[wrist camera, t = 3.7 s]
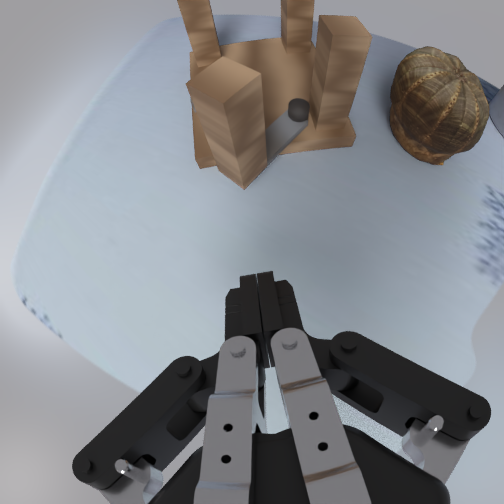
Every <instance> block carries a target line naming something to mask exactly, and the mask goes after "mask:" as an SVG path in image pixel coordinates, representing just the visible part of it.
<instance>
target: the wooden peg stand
mask: <svg viewBox="0 0 504 504" xmlns="http://www.w3.org/2000/svg"><path fill="white" fill-rule="evenodd" d="M177 1H178V5H179V8H180V11H181V14H182V17H183V21H184V24H185V27H186V30H187V33H188V37H189V40H190V43H191V46H192V49H193V52H190V77H191V79H192V78H194V77H195V76H196V75H197V74H199V73H200V72H201V71H203V70H204V69H206V68H207V67H208V66H210V65H211V64H212V63H214V62H215V61H217V60H218V59H219V58H221V57H222V56H223V57H226V58H228V59H230V60H233V61H235V62H237V63H239V64H242V65H244V66H246V67H248V68H251V69H253V70H255V71H257V72H259V73H261V79H262V92H263V106H264V121H265V130H266V129H267V128H268V127H269V126H270V125H271V124H272V123H273V122H274V121H275V120H277V119H278V118H279V117H280V116H281V115H282V114H283V113H284V112H285V111H287V110H288V104H289V102H290V101H291V100H292V99H295V98H301V99H304V100H306V101H307V102H308V103H309V105H310V109H309V117H308V126H307V127H306V128H305V129H304V130H303V131H302V132H301V133H300V134H299V135H298V136H297V137H296V138H295V139H294V140H293V141H292V142H291V143H290V144H289V145H288V146H287V147H286V148H285V149H284V150H283V151H282V152H281V153H280V154H279V155H281V154H288V153H295V152H303V151H311V150H320V149H330V148H340V147H351V146H352V145H353V143H354V140H355V138H356V134H355V132H354V129H353V127H352V124H351V122H350V119H349V117H348V116H349V113H350V109H351V106H352V103H353V100H354V97H355V94H356V90H357V87H358V84H359V81H360V77H361V74H362V71H363V67H364V64H365V61H366V57H367V54H368V50H369V47H370V43H371V40H372V36H371V35H370V33H369V32H368V31H367V30H366V28H365V27H364V26H363V25H362V23H361V22H360V21H359V20H358V18H357V17H353V16H335V15H319V22H318V32H317V42H316V48H315V46H314V44H313V43H312V41H311V37H312V25H313V12H314V0H281V38H272V39H262V40H254V41H247V42H240V43H233V44H227V45H222V46H219V42H218V37H217V33H216V28H215V24H214V19H213V15H212V10H211V6H210V1H209V0H177ZM191 104H192V118H193V134H194V148H195V160H196V162H197V164H198V166H199V168H200V169H202V168H207V167H211V166H216V165H217V164H216V162H215V159H214V157H213V154H212V151H211V149H210V146H209V144H208V141H207V138H206V136H205V133H204V130H203V128H202V125H201V123H200V120H199V117H198V115H197V112H196V109H195V107H194V104H193V102H192V99H191Z"/></svg>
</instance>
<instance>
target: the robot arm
mask: <svg viewBox="0 0 504 504" xmlns="http://www.w3.org/2000/svg"><path fill="white" fill-rule="evenodd" d="M489 109H490V110H489V114H490V116H491V119H492V121H493V123H494V124H495V126H496V127H497V129H498V130H499V132H500V133H501V134H502V135H503V137H504V85H503V87H502V88H501V89H500V90H499V92H498V93H497V94H496V95H495V97H494V98H493V99H492V100H491V102H490V103H489ZM257 280H258V283H257ZM225 306H226V308H225V314H226V315H225V342H224V343H223V344H222V346H221V348H220V351H219V352H218V353H217V354H215V355H214V356H211V357H209V358H207V359H204V360H201V361H199V360H198V359H196V358H194V357H191V356H184V357H180V358H178V359H176V360H174V361H173V362H172V363H171V364H170V365H169V366H168V367H167V368H166V369H165V370H164V371H163V372H162V373H161V374H160V375H159V376H158V377H157V378H156V379H155V380H154V381H153V382H152V383H151V384H150V385H149V386H148V387H147V388H146V389H145V390H144V391H143V392H142V393H141V394H140V395H138V397H136V398H135V399H134V400H133V401H132V402H131V403H130V404H129V405H128V406H127V407H126V408H125V409H124V410H123V411H122V412H121V413H120V414H119V415H118V416H117V417H116V418H115V419H114V420H113V421H112V422H111V423H110V424H108V425H107V426H106V427H105V428H104V429H103V430H102V431H101V432H100V433H99V434H98V435H97V436H96V437H95V438H94V439H93V440H92V441H91V442H90V443H89V444H87V445H86V446H85V447H84V448H83V449H82V450H81V451H80V452H79V453H78V454H77V455H76V456H75V458H74V460H73V464H72V469H73V473H74V475H75V476H76V478H77V479H78V480H80V481H81V482H83V483H86V484H88V485H90V486H92V487H93V488H95V489H97V490H99V491H100V492H101V493H102V494H103V496H104V497H105V498H106V499H107V500H108V501H109V502H110V504H450V495H449V492H448V489H447V487H446V486H445V483H446V481H447V480H448V478H449V476H450V475H451V473H452V471H453V470H454V468H455V466H456V464H457V463H458V461H459V459H460V457H461V455H462V454H463V452H464V450H465V448H466V446H467V444H468V442H469V440H470V439H471V438H472V437H473V436H475V435H476V434H477V433H478V432H479V431H480V430H482V428H484V427H485V426H486V425H487V424H488V422H489V420H490V417H491V408H490V405H489V403H488V401H487V400H486V399H485V398H484V397H482V396H480V395H478V394H476V393H474V392H472V391H470V390H468V389H466V388H464V387H462V386H460V385H458V384H456V383H454V382H452V381H450V380H448V379H446V378H444V377H442V376H440V375H438V374H436V373H434V372H432V371H430V370H428V369H426V368H424V367H422V366H420V365H418V364H416V363H414V362H412V361H410V360H408V359H406V358H404V357H402V356H400V355H399V354H397V353H395V352H393V351H391V350H389V349H387V348H385V347H383V346H381V345H379V344H377V343H376V342H374V341H372V340H370V339H368V338H366V337H364V336H362V335H360V334H358V333H356V332H351V331H346V332H341V333H339V334H337V335H336V336H334V337H333V339H332V340H324V339H317V338H314V337H311V336H310V335H308V334H307V333H306V332H305V330H304V328H303V325H302V321H301V317H300V314H299V310H298V306H297V303H296V298H295V295H294V291H293V287H292V286H291V285H290V284H289V283H288V282H287V281H286V280H282V281H276V282H275V281H274V276H273V271H269V272H263V273H257V278H256V274H252V275H246V276H240V288H235V289H230V291H229V292H228V294H227V296H226V302H225ZM268 354H269V357H268ZM269 358H270V363H271V367H275V368H276V373H277V379H278V384H279V388H280V392H281V396H282V400H283V405H284V409H285V413H286V417H287V422H288V426H289V429H286V430H284V431H281V432H279V433H276V434H268V431H267V424H266V383H265V380H266V377H265V368H270V365H269ZM331 393H332V394H333V395H335V396H336V397H338V398H339V399H341V400H343V401H344V402H346V403H347V404H349V405H350V406H352V407H354V408H355V409H357V410H358V411H360V412H362V413H363V414H365V415H366V416H368V417H370V418H371V419H373V420H375V421H376V422H378V423H380V424H381V425H383V426H385V427H386V428H388V429H390V430H392V431H393V432H395V433H397V434H398V435H400V436H402V437H403V438H402V449H403V451H404V452H405V454H407V455H408V456H409V457H410V458H411V459H412V460H413V462H414V464H412V463H410V462H409V461H407V460H406V459H404V458H403V457H401V456H399V455H398V454H396V453H395V452H393V451H391V450H390V449H388V448H387V447H385V446H384V445H382V444H381V443H379V442H378V441H376V440H374V439H373V438H371V437H370V436H369V435H367V434H366V433H364V432H362V431H361V430H359V429H357V428H354V427H351V426H348V425H344V424H342V422H341V419H340V416H339V413H338V410H337V408H336V405H335V402H334V399H333V396H332V394H331ZM204 426H205V434H204V442H203V446H202V447H200V448H199V449H197V450H196V451H195V452H194V453H193V454H192V455H191V456H190V457H189V458H188V459H187V461H186V462H185V463H184V464H183V465H182V466H181V467H180V469H179V470H178V471H177V472H176V473H175V474H174V475H173V477H172V478H171V479H170V480H169V481H168V482H167V483H166V484H165V486H163V488H162V489H161V487H162V485H163V475H162V471H163V470H164V469H165V468H166V467H167V466H168V465H169V463H171V462H172V461H173V460H174V458H175V457H176V456H177V455H178V454H179V453H180V452H181V451H182V450H183V449H184V448H185V447H186V446H187V445H188V444H189V442H190V441H191V440H192V439H193V438H194V437H195V436H196V435H197V434H198V432H199V431H200V430H201V429H202V428H203V427H204ZM160 489H161V490H160ZM159 490H160V491H159ZM158 491H159V492H158Z"/></svg>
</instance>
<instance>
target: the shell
mask: <svg viewBox="0 0 504 504" xmlns="http://www.w3.org/2000/svg"><path fill="white" fill-rule="evenodd" d="M390 99H391V102H392V105H391V109H390V126H391V129H392V132H393V135H394V136H395V138H396V139H397V140H398V142H399V143H400V145H401V146H402V147H403V148H404V150H406V151H407V152H408V153H409V154H411V155H412V156H413V157H415V158H416V159H418V160H420V161H423V162H427V163H430V164H433V165H443V162H444V161H445V160H447V159H449V158H450V157H451V156H452V155H454V154H456V153H460V152H464V151H468V150H470V149H471V148H473V147H474V145H475V144H476V143H477V142H478V141H479V140H480V138H481V136H482V134H483V131H484V128H485V126H486V124H487V121H488V118H489V110H490V109H489V104H488V101H487V99H486V96H485V95H484V91H483V88H482V85H481V83H480V81H479V79H478V78H477V76H476V75H475V74H474V73H471V72H470V71H469V70H467V69H466V67H465V66H464V65H463V63H462V62H461V61H460V59H459V58H457V57H456V56H454V55H451V54H448V53H444V52H442V51H441V50H439V49H436V48H434V47H428V46H427V47H423V48H419V49H416V50H414V51H413V52H411V53H409V54H408V55H406V57H405V58H404V59H403V60H402V61H401V62H400V64H399V65H398V68H397V70H396V74H395V78H394V81H393V84H392V86H391V94H390Z"/></svg>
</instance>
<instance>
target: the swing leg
mask: <svg viewBox="0 0 504 504" xmlns="http://www.w3.org/2000/svg"><path fill="white" fill-rule="evenodd" d="M186 86H187V88H188V91H189V94H190V96H191V99H192V102H193V104H194V107H195V109H196V112H197V115H198V117H199V120H200V123H201V125H202V128H203V130H204V133H205V136H206V138H207V141H208V144H209V146H210V149H211V151H212V154H213V157H214V159H215V162H216V164H217V167H218V170H219V171H220V172H221V173H223V174H224V175H225V176H227V177H228V178H229V179H231V180H232V181H233V182H235V183H236V184H237V185H239V186H240V187H241V188H243V189H244V190H245V189H246V188H247V187H248V186H249V184H250V183H251V182H252V181H253V180H254V179H255V178H256V177H257V176H258V175H259V174H260V173H261V172H262V171H263V170H264V169H265V168H266V167H267V166H268V165H269V164H270V163H271V162H272V161H273V160H274V159H275V158H276V157H277V156H278V155H279V154H280V153H281V152H282V151H283V150H284V149H285V148H286V147H287V146H288V145H289V144H290V143H291V142H292V141H293V140H294V139H295V138H296V137H297V136H298V135H299V134H300V133H301V132H302V131H303V130H304V129H305V128H306V127H307V126H308V117H309V109H310V105H309V103H308V102H307V101H306V100H304V99H301V98H295V99H292V100H291V101H290V102H289V104H288V110H287V111H285V112H284V113H283V114H282V115H281V116H280V117H279V118H278V119H277V120H275V121H274V122H273V123H272V124H271V125H270V126H269V127H268V128H267V129H266V130H265V121H264V106H263V92H262V79H261V73H259V72H257V71H255V70H253V69H251V68H248V67H246V66H244V65H242V64H239V63H237V62H235V61H233V60H230V59H228V58H226V57H223V56H222V57H221V58H219V59H218V60H217V61H215V62H214V63H212V64H211V65H210V66H208V67H207V68H206V69H204V70H203V71H201V72H200V73H199V74H197V75H196V76H195V77H194V78H192V79H191V80H190V81H188V82H187V83H186Z"/></svg>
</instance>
